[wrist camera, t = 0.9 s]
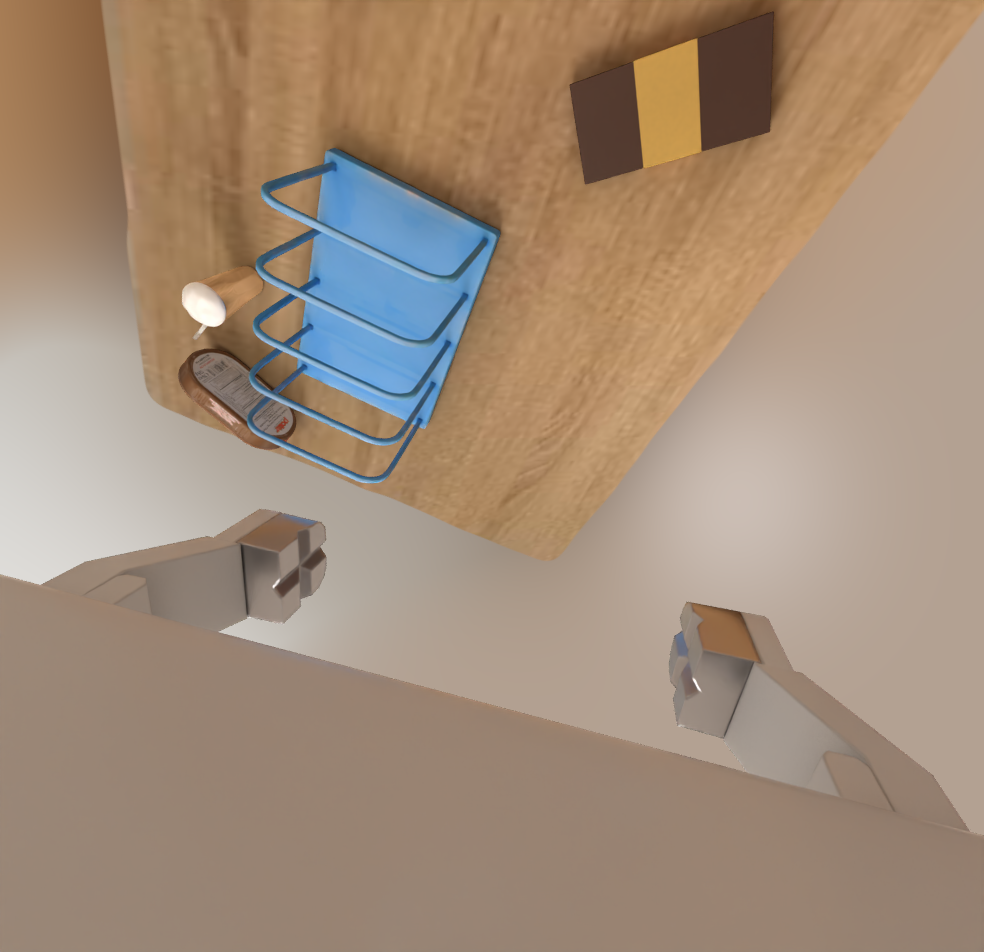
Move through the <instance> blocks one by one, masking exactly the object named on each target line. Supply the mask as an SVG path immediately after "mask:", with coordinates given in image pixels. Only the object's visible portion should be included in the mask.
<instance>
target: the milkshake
mask: <svg viewBox="0 0 984 952" xmlns="http://www.w3.org/2000/svg"><path fill="white" fill-rule="evenodd" d="M262 290H263V280H262V279H261V277H260V275H259V274H258V272H257V271H256V270H254V269H253V268H252V267H250V266H240V267H237V268H234V269H231V270H228V271H225V272H223V273H220V274H217V275H214V276H212V277H209V278H205V279H202V280H199V281H196V282H192V283H190V284H188V285H186V286H185V287H184V289H183V292H182V304H183V306H184V307H185V309H186V310H187V311H188V312H189V314H190V315H191V317H192V318H194V319H195V320H197V321H198V322H200V323H202V324H203V325H202V327H201V328H200V329H199V330H198V332H197V333H196V334H195V335H194V337H193V339H195V340H197V339H198V337H199V336H200V335H201V334H202V332H203V331H204V330H205V329H206V327H207V326H211V327H216V326H219V325H221V324H222V323H223V322H224V321H226V320H227V319H228V318H229V317H230V316H231V315H233V314H234V313H235V312H236V311H237V310H238V309H240V308H241V307H242V306H243V305H245V304H246V303H247V302H249V301H250V300H251V299H253V298H254V297H255V296H257V295H258V294H259V293H260V292H261V291H262Z"/></svg>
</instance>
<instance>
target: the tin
mask: <svg viewBox="0 0 984 952" xmlns="http://www.w3.org/2000/svg"><path fill="white" fill-rule="evenodd" d="M249 373H250V369H249V368H248V367H247V366H246V365H244V364H243V363H242V362H241V361H240V360H238V359H237V358H236V357H234V356H232V355H230V354H228V353H226V352H224V351H220V350H216V349H202V350H199V351H196V352H194V353H192V354H191V355H190V356H189V357H188V358H187V360H186V361H185V363H183V364H182V366H181V367H180V369H179V373H178V379H179V382H180V385H181V387H182V389H183V390H184V392H185V393H186V394H187V396H188V397H189V398H191V399H192V400H193V401H194V402H195V403H197V404H198V405H199V406H200V407H201V408H203V409H204V410H205V411H206V412H208V413H209V414H210V415H211V416H213V417H214V418H215V419H216V420H218V421H219V422H220V423H221V424H222V425H224V426H225V427H226V428H227V429H228V430H230V431H231V432H232V433H233V434H234V435H236V436H237V437H238V438H239V439H241V440H242V441H243V442H245V443H246V444H249V445H251V446H253V447H255V448H259V449H264V450H272V449H277V448H279V447H281V446H279V445H276V444H274V443H272V442H270V441H268V440H265V439H263V438H261V437H259V436H258V435H256V434H254V433H253V432H252V431H251V430H250V428H249V427H248V424H247V416H248V414H249V412H250V411H251V410H252V409H253V408H254V407H255V406H256V405H257V404H258V403H259V402H260V401H261V400H262V399H264V398H265V397H266V395H263V394H262V393H260V392H259V391H257V390H256V389H255V388H254V387H253V386H252V385H251V383H250V380H249ZM255 378H256V380H257V381H258V383H259V384H261V385H262V386H263V387H265V388H267V389H268V390H270V391H273V389H272V388H271V387H270V386H268V385H267V384H266V383H265V382H264V381H263V380H262V379H260V378H259V377H258V376H257V375H255ZM253 423H254V424H255V426H256V427H257V428H259V429H260V430H262V431H264V432H265V433H268V434H270V435H272V436H274V437H276V438H278V439H281V440H283V441H285V442H287V440H288V439H289V438H290V436H291V435H292V434H293V432H294V430H295V427H296V418H295V414H294V412H293V410H292V408H291V407H289V406H287V405H284V404H282V403H280V402H278V401H276V400H274V399H271V400H270V401H269V402H268V403H267V404H266V405H265V406H264V407H263V408H261V409H260V410H259V411H258V412H257V413H256V414H255V415H254V417H253Z"/></svg>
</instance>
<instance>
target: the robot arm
mask: <svg viewBox="0 0 984 952" xmlns="http://www.w3.org/2000/svg"><path fill="white" fill-rule="evenodd" d="M325 541H326V532H325V526H324V525H323V524H322V523H321V522H318V521H314V520H310V519H306V518H301V517H297V516H293V515H289V514H285V513H284V514H283V513H281V512H276V511H271V510H266V509H259V510H257V511H256V512H254V513H253V514H251V515H249V516H248V517H246V518H244V519H243V520H241V521H240V522H238V523H236V524H235V525H233V526H231V527H230V528H228V529H227V530H225V531H223V532H222V533H220V534H218V535H217V536H216V537H214V538H213V537H208V536H206V537H201V538H197V539H192V540H187V541H182V542H178V543H173V544H168V545H164V546H159V547H154V548H149V549H144V550H139V551H134V552H130V553H125V554H120V555H115V556H111V557H106V558H101V559H97V560H91V561H87V562H84V563H82V564H80V565H78V566H76V567H74V568H73V569H71V570H69V571H67V572H65V573H63V574H61V575H59V576H57V577H55V578H53V579H51V580H49V581H47V582H45V583H43V584H42V585H38V584H34V583H31V582H27V581H23V580H19V579H16V578H12V577H8V576H4V575H0V952H984V835H980V834H976V833H973V832H970V831H969V829H968V828H967V826H966V825H965V823H964V822H963V820H962V819H961V817H960V816H959V814H958V813H957V811H956V810H955V808H954V807H953V805H952V803H951V802H950V801H949V799H948V797H947V796H946V795H945V793H944V791H943V790H942V788H941V787H940V785H939V784H938V782H937V781H936V779H935V778H934V776H933V775H932V774H931V773H929V772H928V771H927V770H925V769H924V768H923V767H922V766H920V765H919V764H918V763H916V762H915V761H914V760H913V759H911V758H910V757H909V756H908V755H906V754H905V753H904V752H902V751H901V750H900V749H899V748H897V747H896V746H895V745H893V744H892V743H891V742H890V741H888V740H887V739H886V738H885V737H883V736H882V735H881V734H879V733H878V732H877V731H876V730H874V729H873V728H872V727H870V726H869V725H868V724H867V723H865V722H864V721H863V720H862V719H860V718H859V717H858V716H856V715H855V714H854V713H853V712H851V711H850V710H849V709H847V708H846V707H845V706H844V705H842V704H841V703H840V702H839V701H837V700H836V699H835V698H833V697H832V696H831V695H829V694H828V693H827V692H826V691H824V690H823V689H822V688H821V687H819V686H818V685H817V684H815V683H814V682H813V681H811V680H810V679H809V678H808V677H806V676H805V675H804V674H803V673H800V672H795V671H794V670H793V669H792V666H791V664H790V662H789V660H788V658H787V656H786V654H785V652H784V650H783V648H782V646H781V644H780V642H779V640H778V638H777V636H776V634H775V632H774V630H773V627H772V625H771V623H770V621H769V619H767V618H766V617H765V616H761V615H755V614H750V613H744V612H738V611H733V610H728V609H723V608H717V607H712V606H707V605H701V604H696V603H691V602H687V603H686V604H685V606H684V608H683V611H682V614H681V617H680V620H681V626H682V631H681V632H680V633H678V634H677V635H675V636H674V640H673V644H672V648H671V653H670V660H669V674H670V682H671V683H672V684H673V685H674V686H675V688H676V691H675V694H674V697H673V702H674V708H675V715H676V721H677V726H681V727H684V728H688V729H691V730H695V731H698V732H702V733H705V734H709V735H712V736H716V737H719V738H723V739H724V742H725V743H726V745H727V746H728V747H729V749H730V750H731V751H732V753H733V754H734V756H735V757H736V758H737V759H738V761H739V762H740V763H741V765H742V766H743V767H744V769H745V770H746V771H747V772H743V771H739V770H736V769H732V768H728V767H724V766H721V765H717V764H713V763H709V762H705V761H702V760H698V759H694V758H691V757H687V756H682V755H679V754H675V753H672V752H668V751H664V750H660V749H657V748H653V747H649V746H645V745H642V744H638V743H634V742H630V741H626V740H622V739H619V738H615V737H611V736H608V735H604V734H600V733H596V732H592V731H588V730H585V729H581V728H577V727H574V726H570V725H566V724H562V723H559V722H555V721H551V720H547V719H543V718H539V717H536V716H532V715H528V714H525V713H521V712H517V711H513V710H509V709H506V708H502V707H498V706H494V705H491V704H487V703H483V702H479V701H475V700H472V699H468V698H464V697H460V696H457V695H453V694H449V693H445V692H442V691H438V690H434V689H430V688H426V687H423V686H419V685H415V684H411V683H407V682H404V681H400V680H396V679H392V678H388V677H385V676H381V675H377V674H374V673H370V672H366V671H362V670H358V669H354V668H351V667H347V666H344V665H340V664H336V663H332V662H328V661H325V660H321V659H317V658H313V657H309V656H306V655H302V654H298V653H294V652H291V651H287V650H283V649H279V648H276V647H272V646H268V645H264V644H260V643H257V642H253V641H249V640H246V639H242V638H238V637H234V636H230V635H227V634H223V633H219V632H218V631H221V630H223V629H225V628H227V627H229V626H232V625H234V624H236V623H238V622H240V621H243V620H245V619H247V617H252V618H256V619H261V620H265V621H269V622H274V623H278V624H284V623H285V622H286V621H287V620H288V619H289V618H290V617H291V616H292V615H293V614H294V613H295V612H296V611H297V610H298V609H299V608H300V606H301V601H300V599H302V598H305V597H308V596H311V595H312V594H313V593H314V592H315V591H316V590H317V589H318V588H319V586H320V584H321V582H322V580H323V578H324V575H325V571H326V555H325V554H324V552H323V551H322V549H321V548H320V546H321V545H322V544H323V543H324V542H325Z"/></svg>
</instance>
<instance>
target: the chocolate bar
mask: <svg viewBox="0 0 984 952" xmlns="http://www.w3.org/2000/svg"><path fill="white" fill-rule="evenodd" d="M773 20H774V12H770V13H767V14H764V15H761V16H759V17H756V18H753V19H750V20H748V21H745V22H742V23H739V24H737V25H734V26H731V27H728V28H725V29H723V30H720V31H717V32H714V33H712V34H709V35H706V36H703V37H700V38H698V39H697V38H695V39H692V40H690V41H687V42H684V43H681V44H679V45H676V46H673V47H670V48H667V49H665V50H662V51H659V52H656V53H654V54H651V55H648V56H645V57H643V58H640V59H637V60H634V61H633V62H631V63H628V64H626V65H623V66H620V67H617V68H614V69H612V70H609V71H606V72H603V73H601V74H598V75H595V76H592V77H589V78H587V79H584V80H581V81H578V82H576V83H573V84H570V91H571V97H572V104H573V110H574V116H575V123H576V129H577V136H578V142H579V149H580V155H581V161H582V168H583V174H584V181H585V184H589V183H593V182H596V181H600V180H603V179H607V178H610V177H614V176H617V175H621V174H624V173H628V172H631V171H635V170H638V169H642V168H644V169H645V168H648V167H652V166H655V165H659V164H662V163H666V162H669V161H673V160H676V159H680V158H683V157H687V156H690V155H694V154H697V153H701V152H702V151H705V150H708V149H712V148H715V147H719V146H722V145H726V144H729V143H733V142H736V141H740V140H743V139H747V138H750V137H754V136H757V135H761V134H764V133H768V132H770V119H771V86H772V53H773Z"/></svg>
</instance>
